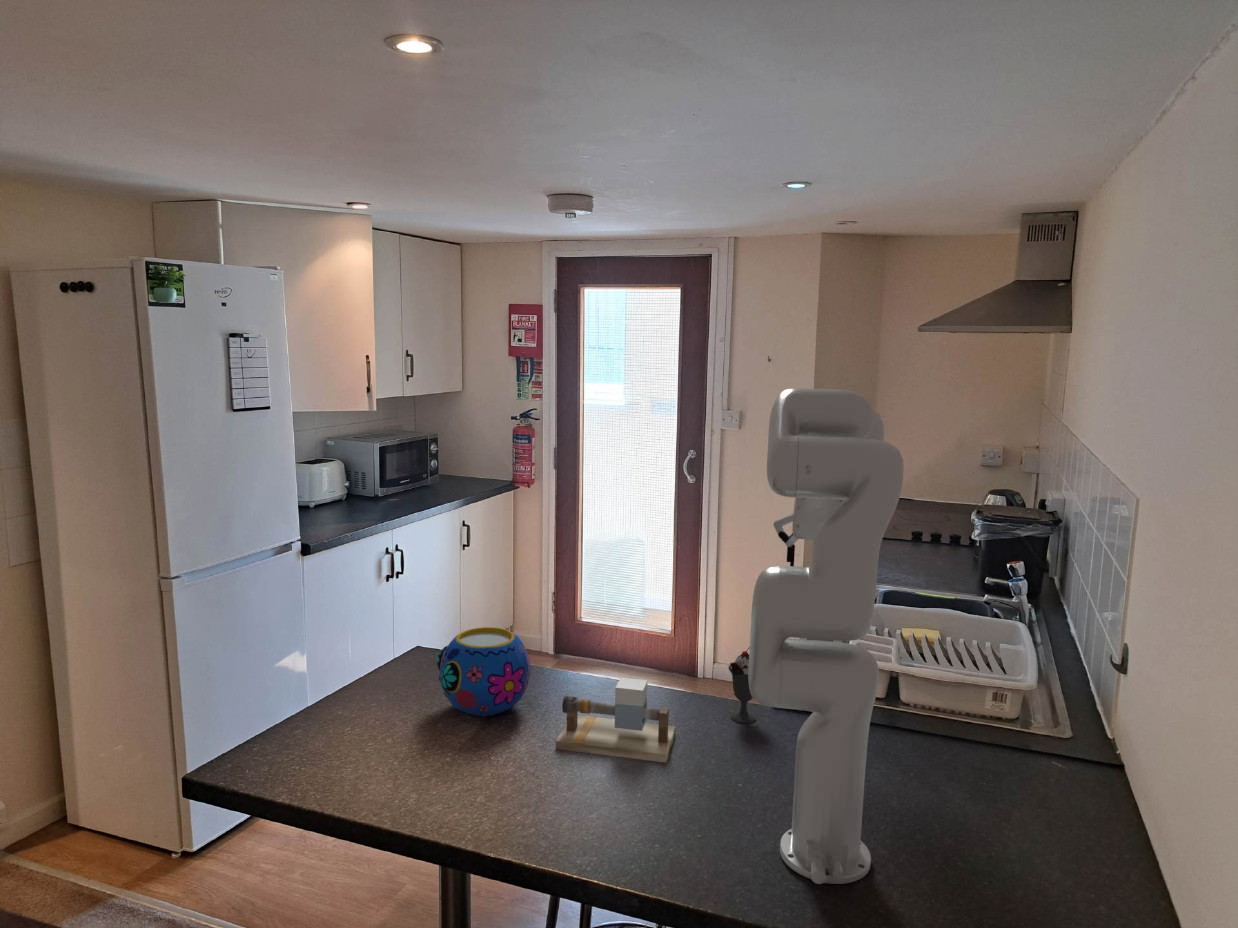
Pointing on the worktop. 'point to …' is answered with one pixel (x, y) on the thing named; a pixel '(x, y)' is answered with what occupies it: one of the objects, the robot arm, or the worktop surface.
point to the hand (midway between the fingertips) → (817, 567)
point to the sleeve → (630, 703)
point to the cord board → (614, 732)
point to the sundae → (741, 688)
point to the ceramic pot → (484, 670)
